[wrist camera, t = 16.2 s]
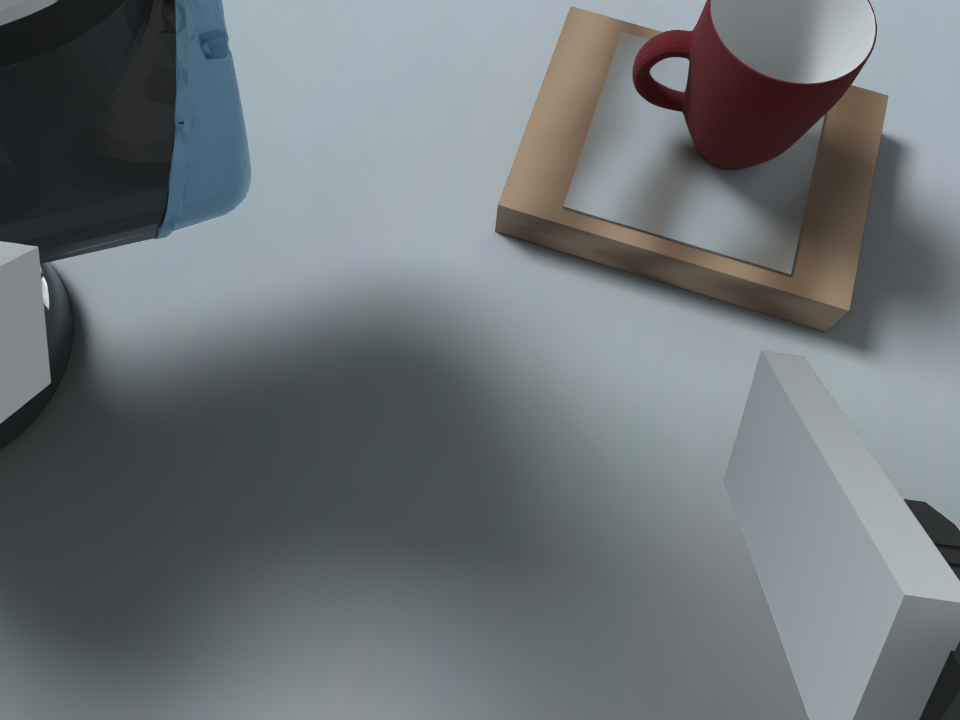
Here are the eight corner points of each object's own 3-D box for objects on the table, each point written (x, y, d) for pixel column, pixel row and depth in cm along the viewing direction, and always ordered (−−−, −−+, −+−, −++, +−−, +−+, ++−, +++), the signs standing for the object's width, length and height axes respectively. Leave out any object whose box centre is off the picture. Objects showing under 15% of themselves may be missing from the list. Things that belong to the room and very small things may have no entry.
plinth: (495, 231, 50) (498, 203, 47) (564, 40, 55) (571, 4, 52) (826, 332, 49) (850, 309, 46) (865, 126, 54) (890, 93, 51)
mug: (616, 195, 48) (658, 77, 38) (614, 78, 51) (652, -58, 41) (802, 205, 48) (888, 90, 39) (790, 88, 51) (867, -45, 41)
